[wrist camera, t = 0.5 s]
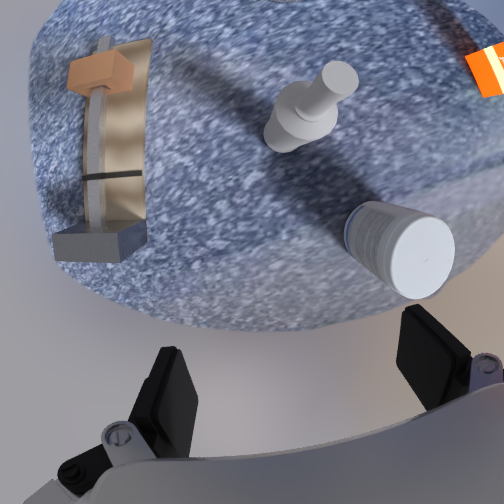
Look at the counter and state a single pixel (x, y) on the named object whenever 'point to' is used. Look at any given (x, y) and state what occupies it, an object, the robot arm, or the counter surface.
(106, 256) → the slider rail assembly
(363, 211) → the supplement tub
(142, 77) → the base board
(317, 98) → the bottle
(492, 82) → the orange juice
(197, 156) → the counter surface
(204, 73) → the counter surface
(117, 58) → the tan notched block
